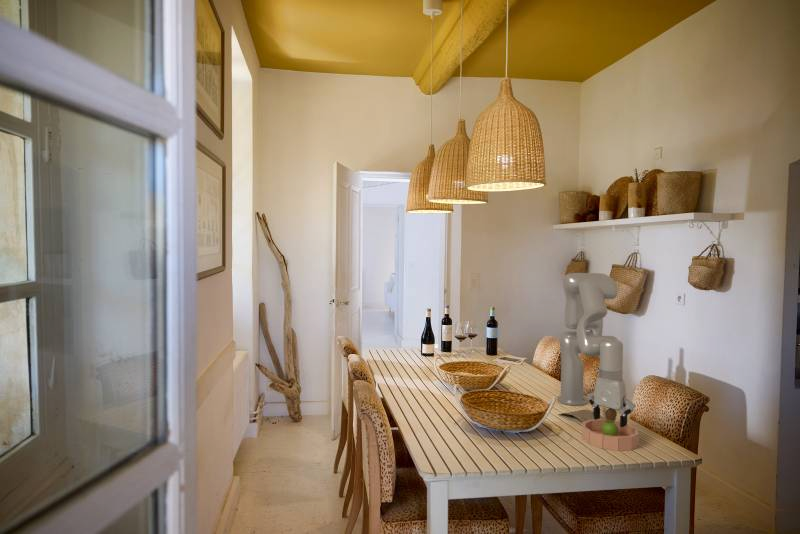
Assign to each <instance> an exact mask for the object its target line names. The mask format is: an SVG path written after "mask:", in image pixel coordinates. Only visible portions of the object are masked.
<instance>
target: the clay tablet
mask: <svg viewBox="0 0 800 534" xmlns="http://www.w3.org/2000/svg"><path fill="white" fill-rule="evenodd" d="M560 414H562V415H570V416H573V417H575V418H576V419H578V420H579V421H580V422H581V423H582V422H585V421H587V420H592V419H594V416H593V410H590V409H586V408H585V409H580V410H575V411H569V412H563V413H560ZM560 414H558V416H561V415H560ZM599 419H604V418H603V415H601V414H600V418H599Z"/></svg>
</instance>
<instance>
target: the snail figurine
mask: <svg viewBox="0 0 800 534" xmlns="http://www.w3.org/2000/svg"><path fill="white" fill-rule="evenodd" d="M601 412H602V417H603V418H604V420H605V421H606V422H605V423H604V424H603V426H602V432H603V434H604V435H610V436H616V435H617V434H618V427H617V425H616V424H615V423H613V422H614V421H617V420H616V419H617V414H618V413H617V410H615V409H611V408H607V409H606V407H604V405H603V406H602V407H601Z"/></svg>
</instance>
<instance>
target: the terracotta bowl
mask: <svg viewBox="0 0 800 534" xmlns="http://www.w3.org/2000/svg"><path fill="white" fill-rule="evenodd" d="M605 422H606V421H605V420H604V419H597V420H594V419H592V420H587V421H585V422H582V421H581V440H582V441H584V442H585V443H587V444H588V445H590V446H593V447H595V448H599V449H603V450H607V449H608V451H615V452H621V451H622V452H624V451H625V452H626V451H633V450H635V449H637V448H639V445H640V432H639V429H638V428H636V427H635V426H633V425H631V424H629V423H627V425H626V426H624V427H620V420H619V421H618V420H615V421H614V422H613V423H615V424H616V425H617V427H618V434H617V435H616V436H610V435H604V434H603V432H602V426H603V424H604V423H605Z"/></svg>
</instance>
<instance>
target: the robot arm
mask: <svg viewBox="0 0 800 534" xmlns="http://www.w3.org/2000/svg"><path fill="white" fill-rule="evenodd" d="M562 287H563V291H564V294H565V306H564V307H565V309H564V325H565V327H566V328H567V329H570V331H569V330H567V331H563V332H562V333H561V334H560V335H559V338H558V339H559V348H560V361H561V362H560V366H561V367H560V395H558V396H557V397H556V401H557V402H558V403H560V404H563V405H565V406H574V407H575V406H579V407H581V406H585V405H587V402H589V404H590V405H591V407H592V411H593V416H594V420H597V419H599V418H600V415H601V407H603V405H604V408H607V409H609V408H611V409H615V410H616V411H618V412H619V413H620V415H619V416H620V417H619V422H620V427H624V426H626V425H627V424H628V415H630V414H631V413H632V412H633V410H634V409H635V408H636V404H635V403H633V402H632V401H631V400H629V399H628V398H627V391H626V390H627V389H626V385H625V384H626V383H625V379H623V369H624V368H623V367H624V366H623V365H624V344H623V342H622V341H621V340H619V339H618V338H617V337H616V336H614V335H603V330H604V329H603V328H604V318H606V316H607V315H608V307H607V304H606V300H613V299H615V298H617V297H618V294H619V288H618V284H617V283H616V280H615V279H614V278H612V277H611V276H609V275H607V274H606V273H599V272H598V273H597V272H594V273H591V272H572V273H567V274H565V275H564V277H563V280H562ZM588 330H589V331H588ZM579 354H582V355H584V356H588V357H599V368H596V369H595V372H596V373H598V376H596V380H595V385H594V390H593V392H589V393H588V391H587V390H585V389H584V371H585V370H584V368H585V367H584V366H585V365H584V364H585V363H584V361H583V359H582V358H581V357H580V356H579ZM584 396H586V397H587V399H588V401H587V399H586V398H585V397H584ZM627 406H628V408H626V407H627Z"/></svg>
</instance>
